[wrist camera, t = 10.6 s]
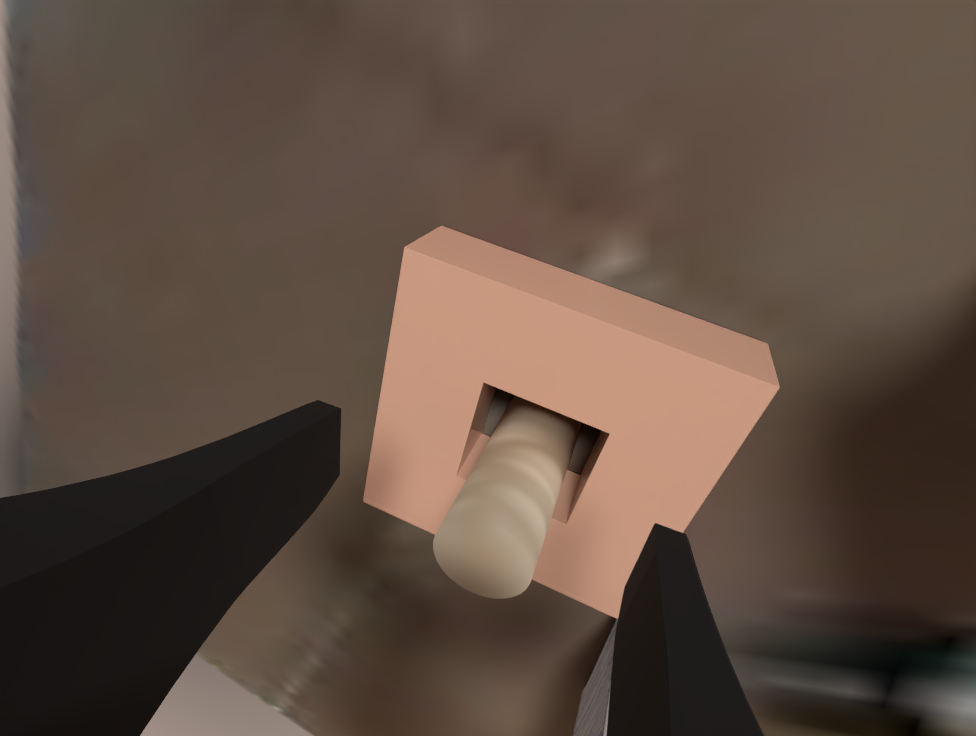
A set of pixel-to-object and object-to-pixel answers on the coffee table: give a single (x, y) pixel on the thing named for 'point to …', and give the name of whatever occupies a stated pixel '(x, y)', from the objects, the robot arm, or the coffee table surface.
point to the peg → (507, 502)
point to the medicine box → (597, 694)
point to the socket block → (559, 401)
